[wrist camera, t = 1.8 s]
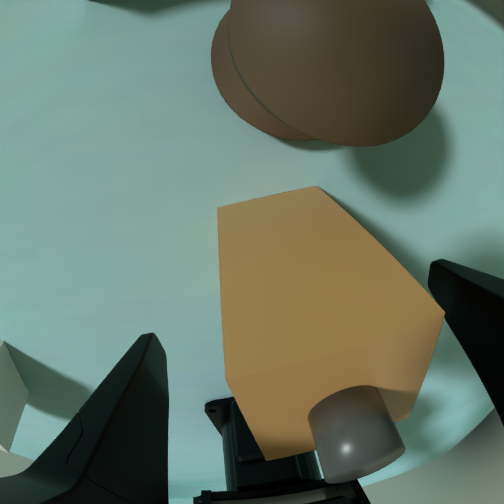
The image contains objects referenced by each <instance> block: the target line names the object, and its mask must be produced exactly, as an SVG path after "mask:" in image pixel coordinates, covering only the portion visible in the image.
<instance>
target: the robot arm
mask: <svg viewBox="0 0 504 504" xmlns="http://www.w3.org/2000/svg"><path fill="white" fill-rule="evenodd" d="M428 287H429V290H430V292H431V294H432V295H433V297H434V299H435V301H436V302H437V304H438V305H439V306H440V307H441V308H442V309H443V310H444V312H445V315H444V318H445V320H446V322H447V323H448V325H449V327H450V328H451V330H452V332H453V333H454V335H455V336H456V338H457V340H458V341H459V343H460V345H461V346H462V348H463V349H464V351H465V353H466V355H467V356H468V358H469V360H470V361H471V363H472V365H473V367H474V368H475V370H476V372H477V374H478V376H479V377H480V379H481V381H482V383H483V385H484V387H485V389H486V391H487V393H488V394H489V396H490V398H491V400H492V402H493V404H494V406H495V408H496V411H497V413H498V414H499V416H500V419H501V421H502V424H503V426H504V279H501V278H498V277H495V276H492V275H489V274H486V273H483V272H481V271H478V270H475V269H472V268H469V267H466V266H463V265H460V264H456V263H453V262H450V261H447V260H444V259H438V260H436V261H433V262H432V263H431V264H430V270H429V277H428ZM205 413H206V414H207V416H208V417H209V418H210V420H211V421H212V423H213V424H214V426H215V427H216V429H217V430H218V432H219V433H220V434H221V436H222V439H223V452H224V464H225V475H226V486H227V491H219V492H211V490H201V495H200V496H198V497H193V503H194V504H371V503H370V501H369V500H368V498H367V496H366V494H365V492H364V491H363V489H362V487H361V485H360V483H359V482H358V480H357V479H355V480H351V481H347V482H342V483H327V482H325V479H322V478H321V474H320V471H319V467H318V463H317V460H316V456H315V452H314V450H313V451H309V452H305V453H301V454H297V455H292V456H288V457H283V458H279V459H274V460H268V461H266V459H265V457H264V455H263V453H262V451H261V449H260V448H259V446H258V444H257V442H256V440H255V438H254V436H253V434H252V432H251V430H250V428H249V426H248V424H247V422H246V420H245V418H244V416H243V414H242V412H241V410H240V408H239V406H238V404H237V402H236V400H235V398H230V399H224V400H218V401H212V402H207V403H206V404H205ZM168 418H169V391H168V376H167V358H166V353H165V350H164V349H163V347H162V345H161V343H160V341H159V340H158V338H157V336H156V335H155V334H154V333H147V334H142V335H141V336H140V337H139V338H138V339H137V340H136V341H135V343H134V344H133V345H132V346H131V347H130V349H129V350H128V351H127V352H126V353H125V355H124V356H123V357H122V358H121V359H120V361H119V362H118V363H117V364H116V365H115V367H114V368H113V369H112V370H111V372H110V373H109V374H108V375H107V376H106V378H105V379H104V380H103V381H102V383H101V384H100V385H99V386H98V387H97V389H96V390H95V391H94V392H93V394H92V395H91V396H90V397H89V399H88V400H87V401H86V402H85V404H84V405H83V406H82V407H81V409H80V410H79V412H77V414H76V415H75V416H74V417H73V419H72V420H71V421H70V422H69V423H68V425H67V426H66V427H65V428H64V430H63V431H62V432H61V433H60V434H59V435H58V436H57V438H56V439H55V440H54V441H53V442H52V443H51V444H50V445H49V446H48V447H47V448H46V449H45V451H44V452H43V453H42V454H41V455H40V456H39V457H38V458H37V459H36V460H35V461H34V462H33V463H32V464H31V465H30V467H28V468H27V469H26V470H25V471H23V472H21V473H19V474H16V475H13V476H8V477H3V478H0V504H169V503H168Z"/></svg>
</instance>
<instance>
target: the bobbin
mask: <svg viewBox="0 0 504 504" xmlns="http://www.w3.org/2000/svg"><path fill="white" fill-rule="evenodd" d="M211 64H212V71H213V76H214V79H215V82H216V85H217V87H218V90H219V92H220V94H221V95H222V97H223V98H224V100H225V102H226V103H227V104H228V105H229V107H230V108H231V109H232V110H233V111H234V112H235V113H236V114H237V115H238V116H239V117H240V118H242V119H243V120H245V121H246V122H247V123H249V124H250V125H252V126H254V127H256V128H258V129H259V130H261V131H263V132H266V133H268V134H271V135H274V136H277V137H281V138H285V139H292V140H313V139H321V140H324V141H327V142H330V143H334V144H340V145H344V146H357V147H362V146H374V145H379V144H384V143H387V142H390V141H393V140H396V139H398V138H400V137H402V136H404V135H406V134H407V133H409V132H410V131H411V130H413V129H414V128H415V127H417V126H418V125H419V124H420V123H421V122H422V121H423V120H424V119H425V117H426V116H427V115H428V113H429V112H430V111H431V109H432V107H433V105H434V104H435V102H436V100H437V97H438V95H439V92H440V89H441V85H442V81H443V74H444V51H443V44H442V39H441V36H440V32H439V29H438V26H437V24H436V21H435V19H434V16H433V14H432V13H431V11H430V9H429V7H428V5H427V4H426V2H425V1H424V0H232V1H231V6H230V9H229V11H228V12H227V13H226V14H225V15H224V17H223V18H222V20H221V21H220V23H219V25H218V27H217V29H216V32H215V35H214V38H213V42H212V49H211Z"/></svg>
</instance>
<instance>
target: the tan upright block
mask: <svg viewBox="0 0 504 504" xmlns="http://www.w3.org/2000/svg"><path fill="white" fill-rule="evenodd" d="M217 217H218V249H219V274H220V296H221V315H222V332H223V349H224V364H225V378H226V381H227V383H228V385H229V387H230V389H231V392H232V394H233V396H234V398H235V400H236V402H237V404H238V406H239V408H240V410H241V412H242V414H243V416H244V418H245V420H246V422H247V424H248V426H249V428H250V430H251V432H252V434H253V436H254V438H255V440H256V442H257V444H258V446H259V448H260V449H261V451H262V453H263V455H264V457H265V459H266V461H268V460H274V459H279V458H283V457H288V456H292V455H297V454H301V453H305V452H309V451H313V450H317V454H318V457H319V461H320V464H321V468H322V472H323V475H324V479H325V482H327V483H342V482H347V481H351V480H355V479H358V478H361V477H364V476H367V475H369V474H372V473H374V472H376V471H378V470H380V469H382V468H384V467H386V466H387V465H389V464H391V463H392V462H394V461H395V460H396V459H398V458H399V457H400V456H401V455H402V454H403V453H404V452H405V449H406V448H405V446H404V444H403V442H402V440H401V437H400V435H399V433H398V431H397V429H396V426H395V424H394V423H396V422H398V421H400V420H403V419H405V418H407V417H409V414H410V412H411V410H412V408H413V405H414V403H415V401H416V398H417V396H418V393H419V391H420V388H421V386H422V383H423V381H424V378H425V375H426V373H427V370H428V367H429V364H430V361H431V359H432V356H433V353H434V349H435V346H436V343H437V340H438V337H439V333H440V330H441V326H442V323H443V319H444V315H445V312H444V310H443V309H442V308H441V307H440V306H439V305H438V304H437V302H436V301H435V300H434V299H433V298H432V297H431V296H430V295H429V294H428V293H427V291H426V290H425V289H424V288H423V287H422V286H421V285H420V284H419V283H418V282H417V281H416V280H415V279H414V277H413V276H412V275H411V274H410V273H409V272H408V271H407V270H406V269H405V268H404V267H403V266H402V265H401V264H400V263H399V262H398V261H397V260H396V259H395V258H394V257H393V256H392V255H391V254H390V253H389V252H388V251H387V250H386V249H385V248H384V247H383V246H382V245H381V244H380V243H379V242H378V241H377V240H376V239H375V238H374V237H373V236H372V235H371V234H370V233H369V232H368V231H366V230H365V229H364V228H363V227H362V226H361V225H360V224H359V223H358V222H357V221H356V220H355V219H354V218H353V217H351V216H350V215H349V214H348V213H347V212H346V211H345V210H344V209H343V208H342V207H340V206H339V205H338V204H337V203H336V202H335V201H334V200H333V199H331V198H330V197H329V196H328V195H327V194H326V193H325V192H323V191H322V190H321V189H320V188H319V187H318V186H312V187H307V188H303V189H298V190H293V191H288V192H284V193H279V194H274V195H270V196H265V197H261V198H257V199H252V200H248V201H244V202H239V203H235V204H231V205H227V206H223V207H219V208H217Z"/></svg>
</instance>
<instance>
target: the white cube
mask: <svg viewBox="0 0 504 504" xmlns="http://www.w3.org/2000/svg"><path fill="white" fill-rule="evenodd" d="M29 394H30V393H29V391H28V390H27V388H26V386H25V384H24V382H23V380H22V378H21V376H20V374H19V372H18V370H17V368H16V366H15V364H14V362H13V360H12V358H11V355H10V353H9V351H8V349H7V346H6V344H5V342H4V341H3V340H0V449H1V450H3V451H5V452H7V453H9V452H10V448H11V445H12V442H13V439H14V436H15V433H16V430H17V427H18V424H19V421H20V418H21V415H22V413H23V410H24V407H25V405H26V402H27V399H28V397H29Z"/></svg>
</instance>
